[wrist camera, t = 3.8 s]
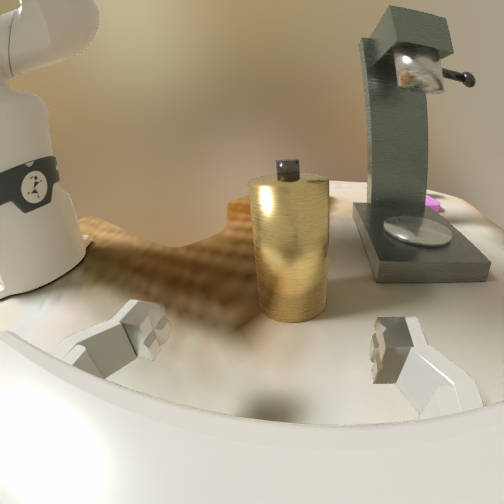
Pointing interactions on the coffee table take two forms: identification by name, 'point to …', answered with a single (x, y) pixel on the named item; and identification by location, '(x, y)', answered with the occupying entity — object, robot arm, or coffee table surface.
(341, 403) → the coffee table surface
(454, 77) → the press
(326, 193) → the bottle
